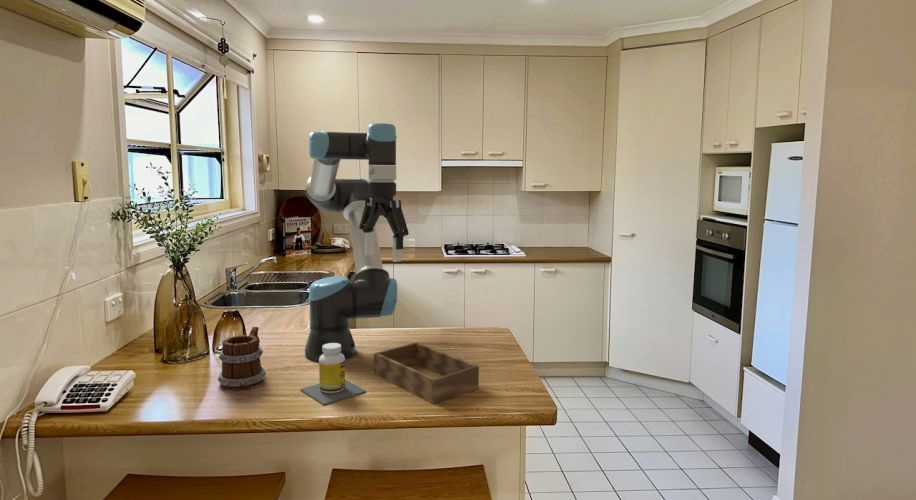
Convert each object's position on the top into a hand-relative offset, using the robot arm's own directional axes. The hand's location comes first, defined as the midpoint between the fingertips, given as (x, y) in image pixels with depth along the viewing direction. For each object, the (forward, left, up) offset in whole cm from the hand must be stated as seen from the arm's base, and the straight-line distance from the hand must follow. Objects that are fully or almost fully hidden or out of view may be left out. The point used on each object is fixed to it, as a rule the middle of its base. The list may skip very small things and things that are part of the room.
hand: (383, 258), depth 154 cm
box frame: (+16, +2, -32) cm, 36 cm away
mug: (-16, -34, -32) cm, 49 cm away
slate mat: (+6, -20, -32) cm, 38 cm away
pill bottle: (+6, -20, -31) cm, 38 cm away
